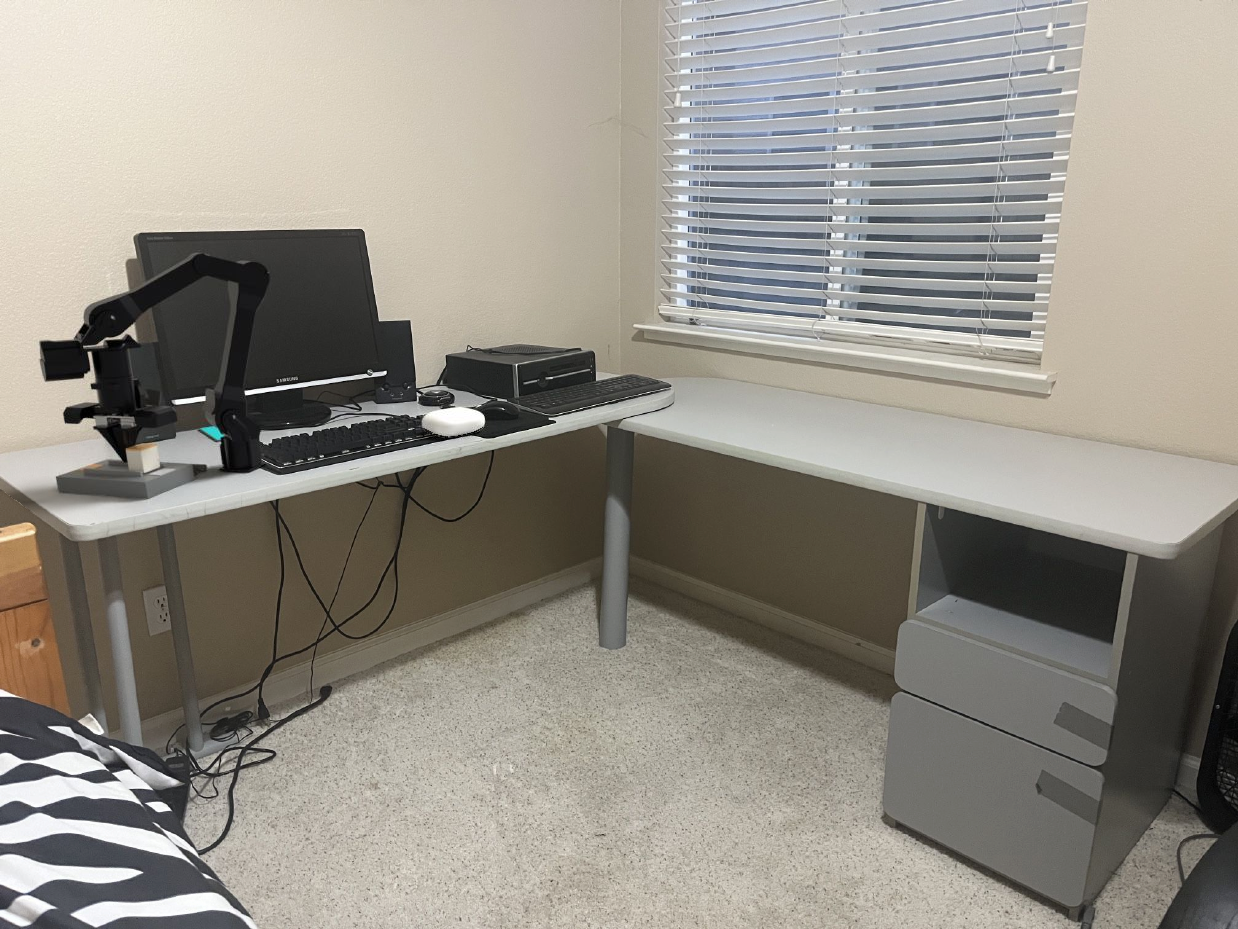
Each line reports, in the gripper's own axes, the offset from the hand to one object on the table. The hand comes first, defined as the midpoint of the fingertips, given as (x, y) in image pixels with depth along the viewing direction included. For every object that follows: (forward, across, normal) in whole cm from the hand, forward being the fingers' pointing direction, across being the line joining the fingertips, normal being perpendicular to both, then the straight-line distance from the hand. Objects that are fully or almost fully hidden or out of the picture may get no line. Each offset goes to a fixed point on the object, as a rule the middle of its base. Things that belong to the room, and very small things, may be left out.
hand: (127, 462), depth 155 cm
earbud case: (+5, -41, -50) cm, 65 cm away
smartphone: (+5, +10, -40) cm, 41 cm away
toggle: (+2, -3, 0) cm, 4 cm away
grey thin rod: (+4, 0, -11) cm, 12 cm away
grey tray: (+4, +1, 0) cm, 5 cm away
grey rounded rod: (+4, +1, -9) cm, 10 cm away
